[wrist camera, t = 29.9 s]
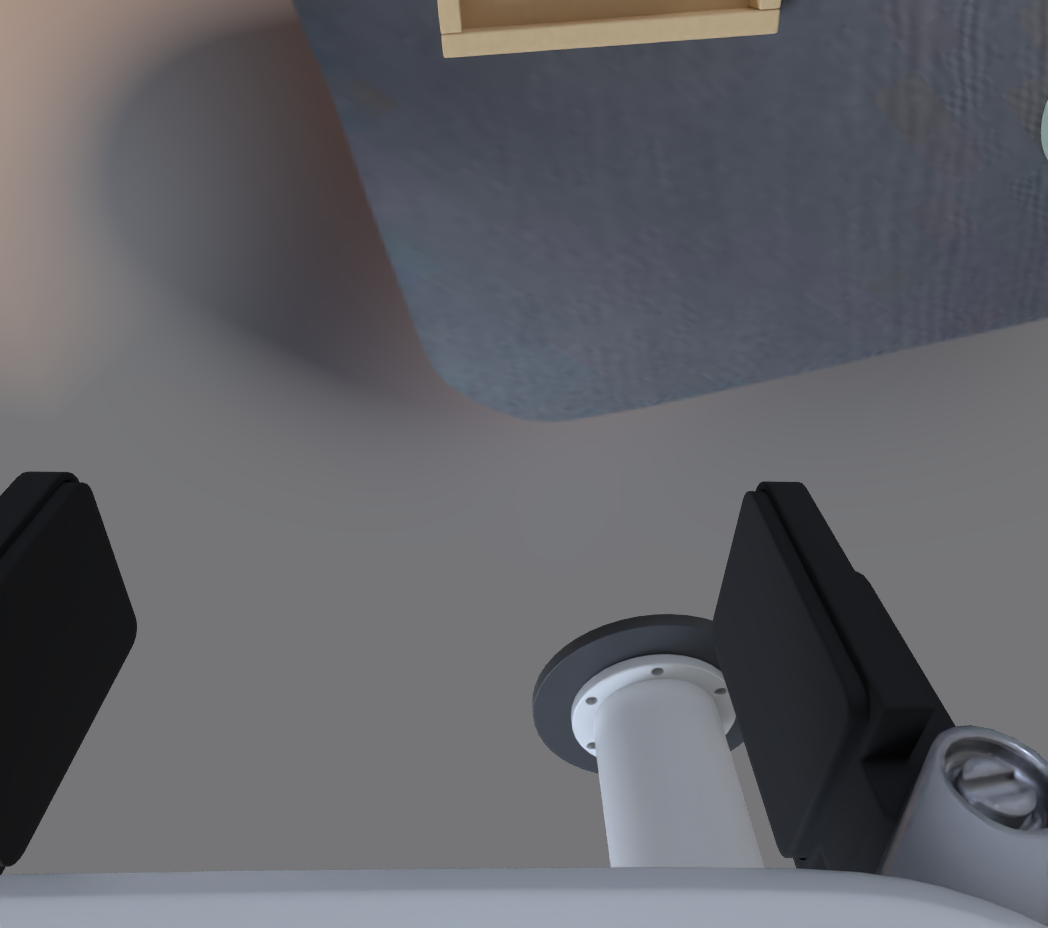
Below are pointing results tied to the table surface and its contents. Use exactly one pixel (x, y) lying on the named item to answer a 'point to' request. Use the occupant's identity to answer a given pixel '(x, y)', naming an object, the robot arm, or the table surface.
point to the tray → (594, 23)
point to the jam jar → (1045, 130)
